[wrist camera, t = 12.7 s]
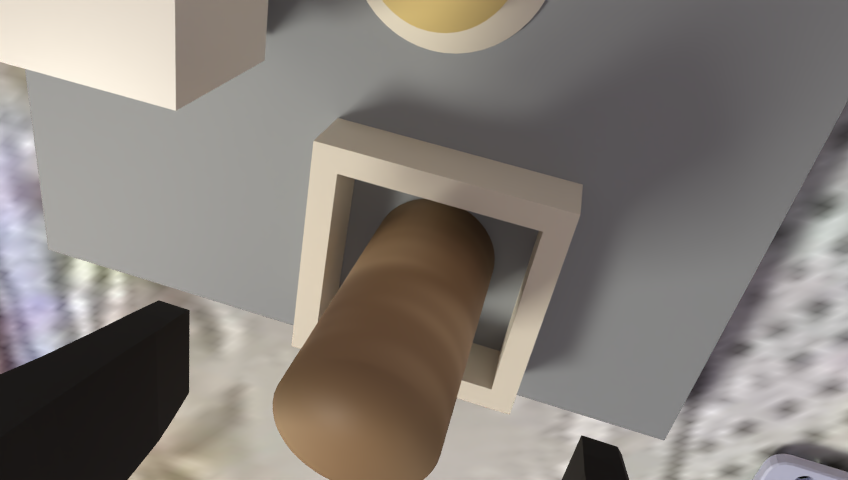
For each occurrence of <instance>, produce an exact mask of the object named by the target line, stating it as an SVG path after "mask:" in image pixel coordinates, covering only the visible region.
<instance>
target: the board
mask: <svg viewBox="0 0 848 480" xmlns="http://www.w3.org/2000/svg"><path fill="white" fill-rule="evenodd" d="M25 72H26V80H27V88H28V95H29V103H30V111H31V119H32V126H33V134H34V142H35V150H36V157H37V165H38V173H39V181H40V188H41V196H42V204H43V212H44V219H45V227H46V235H47V243H48V249H49V250H52V251H55V252H58V253H62V254H65V255H68V256H71V257H75V258H78V259H81V260H84V261H87V262H91V263H94V264H97V265H100V266H104V267H107V268H110V269H113V270H116V271H120V272H123V273H126V274H129V275H133V276H136V277H139V278H142V279H145V280H149V281H152V282H155V283H158V284H162V285H165V286H168V287H171V288H174V289H178V290H181V291H184V292H187V293H191V294H194V295H197V296H200V297H204V298H207V299H210V300H213V301H216V302H220V303H223V304H226V305H229V306H233V307H236V308H239V309H242V310H245V311H249V312H252V313H255V314H258V315H262V316H265V317H268V318H271V319H274V320H278V321H281V322H284V323H287V324H291V325H294V327H293V336H292V347H296V348H299V349H301V348H302V346H303V345H304V343H305V342H306V340H307V339H308V337H309V335H310V334H311V332H312V331H313V329H314V328H315V326H316V324H317V323H318V321H319V320H320V318H321V317H322V315H323V314H324V312H325V310H326V309H327V307H328V306H329V304H330V303H331V301H332V299H333V298H334V296H335V295H336V293H337V292H338V290H339V288H340V287H341V285H342V284H343V282H344V281H345V279H346V277H347V276H348V274H349V273H350V271H351V270H352V268H353V267H354V265H355V263H356V262H357V260H358V259H359V257H360V256H361V254H362V252H363V251H364V249H365V248H366V246H367V245H368V243H369V241H370V240H371V238H372V237H373V235H374V234H375V232H376V230H377V229H378V227H379V226H380V224H381V223H382V221H383V219H384V218H385V217H386V216H387V215H388V214H389V213H390V212H391V211H392V210H393V209H395V208H396V207H398V206H399V205H401V204H404V203H406V202H409V201H412V200H417V199H428V200H432V201H435V202H439V203H442V204H446V205H449V206H453V207H457V208H460V209H464V210H466V211H468V212H469V213H470V214H472V215H473V216H474V217H475V218H476V219H477V220H478V221H479V222H480V223H481V224H482V225H483V227H484V228H485V229H486V231H487V233H488V235H489V236H490V239H491V241H492V244H493V248H494V255H495V263H494V269H493V273H492V277H491V280H490V284H489V287H488V291H487V294H486V298H485V301H484V305H483V308H482V311H481V315H480V318H479V322H478V325H477V329H476V332H475V336H474V339H473V343H472V346H471V350H470V353H469V357H468V360H467V364H466V367H465V371H464V374H463V378H462V381H461V385H460V388H459V392H458V395H457V398H458V399H461V400H464V401H468V402H471V403H474V404H477V405H480V406H484V407H487V408H490V409H493V410H496V411H500V412H503V413H506V414H509V415H510V412H511V409H512V406H513V403H514V400H515V398H516V395H519V396H523V397H526V398H529V399H532V400H535V401H539V402H542V403H545V404H548V405H552V406H555V407H558V408H561V409H565V410H568V411H571V412H574V413H577V414H581V415H584V416H587V417H590V418H594V419H597V420H600V421H603V422H606V423H610V424H613V425H616V426H619V427H623V428H626V429H629V430H632V431H635V432H639V433H642V434H645V435H648V436H652V437H655V438H658V439H661V440H665V438H666V436H667V434H668V433H669V431H670V429H671V427H672V425H673V423H674V421H675V420H676V418H677V416H678V414H679V412H680V410H681V409H682V407H683V405H684V403H685V401H686V399H687V397H688V396H689V394H690V392H691V390H692V388H693V386H694V384H695V383H696V381H697V379H698V377H699V375H700V373H701V372H702V370H703V368H704V366H705V364H706V362H707V360H708V359H709V357H710V355H711V353H712V351H713V349H714V348H715V346H716V344H717V342H718V340H719V338H720V336H721V335H722V333H723V331H724V329H725V327H726V325H727V323H728V322H729V320H730V318H731V316H732V314H733V312H734V311H735V309H736V307H737V305H738V303H739V301H740V299H741V298H742V296H743V294H744V292H745V290H746V288H747V287H748V285H749V283H750V281H751V279H752V277H753V275H754V274H755V272H756V270H757V268H758V266H759V264H760V262H761V261H762V259H763V257H764V255H765V253H766V251H767V250H768V248H769V246H770V244H771V242H772V240H773V238H774V237H775V235H776V233H777V231H778V229H779V227H780V225H781V224H782V222H783V220H784V218H785V216H786V214H787V213H788V211H789V209H790V207H791V205H792V203H793V201H794V200H795V198H796V196H797V194H798V192H799V190H800V189H801V187H802V185H803V183H804V181H805V179H806V177H807V176H808V174H809V172H810V170H811V168H812V166H813V164H814V163H815V161H816V159H817V157H818V155H819V153H820V152H821V150H822V148H823V146H824V144H825V142H826V140H827V139H828V137H829V135H830V133H831V131H832V129H833V128H834V126H835V124H836V122H837V120H838V118H839V116H840V115H841V113H842V111H843V109H844V107H845V105H846V103H847V102H848V0H268V15H267V31H266V47H265V61H263V62H261V63H259V64H258V65H256V66H254V67H252V68H251V69H249V70H247V71H245V72H243V73H242V74H240V75H238V76H236V77H235V78H233V79H231V80H229V81H228V82H226V83H224V84H222V85H221V86H219V87H217V88H215V89H213V90H212V91H210V92H208V93H206V94H205V95H203V96H201V97H199V98H198V99H196V100H194V101H192V102H191V103H189V104H187V105H185V106H184V107H182V108H180V109H178V110H176V111H175V110H171V109H168V108H164V107H160V106H157V105H153V104H150V103H146V102H143V101H139V100H135V99H132V98H128V97H125V96H121V95H117V94H114V93H110V92H107V91H103V90H99V89H96V88H92V87H89V86H85V85H82V84H78V83H74V82H71V81H67V80H64V79H60V78H56V77H53V76H49V75H46V74H42V73H39V72H35V71H31V70H28V69H25Z"/></svg>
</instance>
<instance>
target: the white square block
mask: <svg viewBox="0 0 848 480" xmlns="http://www.w3.org/2000/svg"><path fill="white" fill-rule="evenodd" d="M267 15H268V0H0V62H3V63H6V64H10V65H13V66H17V67H21V68H24V69H28V70H31V71H35V72H39V73H42V74H46V75H49V76H53V77H56V78H60V79H64V80H67V81H71V82H74V83H78V84H82V85H85V86H89V87H92V88H96V89H99V90H103V91H107V92H110V93H114V94H117V95H121V96H125V97H128V98H132V99H135V100H139V101H143V102H146V103H150V104H153V105H157V106H160V107H164V108H168V109H171V110H175V111H176V110H178V109H180V108H182V107H184V106H185V105H187V104H189V103H191V102H192V101H194V100H196V99H198V98H199V97H201V96H203V95H205V94H206V93H208V92H210V91H212V90H213V89H215V88H217V87H219V86H221V85H222V84H224V83H226V82H228V81H229V80H231V79H233V78H235V77H236V76H238V75H240V74H242V73H243V72H245V71H247V70H249V69H251V68H252V67H254V66H256V65H258V64H259V63H261V62H263V61H265V47H266V31H267Z"/></svg>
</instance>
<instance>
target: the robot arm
mask: <svg viewBox="0 0 848 480" xmlns="http://www.w3.org/2000/svg"><path fill="white" fill-rule="evenodd" d="M188 393H189V310H187V309H184V308H181V307H178V306H174V305H171V304H168V303H165V302H162V301H157V302H155V303H152V304H150V305H148V306H146V307H144V308H142V309H140V310H137V311H135V312H133V313H131V314H129V315H127V316H125V317H123V318H121V319H119V320H117V321H115V322H113V323H111V324H109V325H107V326H105V327H103V328H101V329H99V330H97V331H95V332H93V333H91V334H88V335H86V336H84V337H82V338H80V339H78V340H76V341H74V342H72V343H70V344H67V345H65V346H63V347H61V348H59V349H57V350H55V351H53V352H51V353H48V354H46V355H44V356H42V357H40V358H37V359H35V360H33V361H30V362H28V363H26V364H23V365H21V366H19V367H16V368H14V369H12V370H9V371H7V372H5V373H2V374H0V480H128V478H129V477H130V476H131V475H132V473H133V472H134V471H135V470H136V468H137V467H138V466H139V465H140V464H141V462H142V461H143V460H144V459H145V457H146V456H147V455H148V454H149V452H150V451H151V450H152V449H153V447H154V446H155V445H156V444H157V442H158V441H159V440H160V438H161V437H162V435H163V433H164V432H165V430H166V429H167V427H168V426H169V424H170V423H171V421H172V420H173V418H174V416H175V415H176V413H177V411H178V410H179V408H180V407H181V405H182V403H183V402H184V400H185V398H186V397H187V395H188ZM801 476H809V477H808V478H803V479H800V478H798V477H801ZM562 480H629V477H628V474H627V471H626V468H625V464H624V461H623V458H622V454H621V452H620V451H619V449H618V447H616V446H613V445H610V444H607V443H604V442H601V441H597V440H594V439H591V438H588V437H585V436H582V435H581V438H580V440H579V442H578V444H577V447H576V449H575V451H574V454H573V456H572V458H571V460H570V463H569V465H568V467H567V469H566V472H565V474H564V476H563V478H562ZM752 480H848V472H846V471H842V470H839V469H836V468H833V467H829V466H826V465H823V464H820V463H816V462H813V461H810V460H807V459H803V458H800V457H797V456H794V455H789V454H776V455H773V456H771V457H769V458H768V459H767V460H765V461H764V463H763V464H762V466H761V467H760V469H759V470H758V472H757V473H756V475H755V476H754V478H753V479H752Z"/></svg>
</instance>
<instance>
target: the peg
mask: <svg viewBox="0 0 848 480" xmlns="http://www.w3.org/2000/svg"><path fill="white" fill-rule="evenodd" d="M494 263H495V255H494V248H493V244H492V241H491V239H490V236H489V235H488V233H487V231H486V229H485V228H484V227H483V225H482V224H481V223H480V222H479V221H478V220H477V219H476V218H475V217H474V216H473V215H472V214H470V213H469V212H468V211H466V210H464V209H460V208H457V207H453V206H449V205H446V204H442V203H439V202H435V201H432V200H428V199H417V200H412V201H409V202H406V203H404V204H401V205H399V206H398V207H396V208H395V209H393V210H392V211H391V212H390V213H389V214H388V215H387V216H386V217H385V218H384V219H383V221H382V223H381V224H380V226H379V227H378V229H377V230H376V232H375V234H374V235H373V237H372V238H371V240H370V241H369V243H368V245H367V246H366V248H365V249H364V251H363V252H362V254H361V256H360V257H359V259H358V260H357V262H356V263H355V265H354V267H353V268H352V270H351V271H350V273H349V274H348V276H347V277H346V279H345V281H344V282H343V284H342V285H341V287H340V288H339V290H338V292H337V293H336V295H335V296H334V298H333V299H332V301H331V303H330V304H329V306H328V307H327V309H326V310H325V312H324V314H323V315H322V317H321V318H320V320H319V321H318V323H317V324H316V326H315V328H314V329H313V331H312V332H311V334H310V335H309V337H308V339H307V340H306V342H305V343H304V345H303V346H302V348H301V350H300V351H299V353H298V354H297V356H296V357H295V359H294V361H293V362H292V364H291V365H290V367H289V368H288V370H287V371H286V373H285V375H284V376H283V378H282V379H281V381H280V383H279V384H278V386H277V388H276V391H275V393H274V398H273V414H274V420H275V423H276V426H277V428H278V431H279V433H280V435H281V437H282V438H283V440H284V441H285V443H286V444H287V446H288V447H289V448H290V450H291V451H292V452H293V453H294V454H295V455H296V456H297V457H298V458H299V459H300V460H301V461H302V462H303V463H305V464H306V465H307V466H308V467H310V468H311V469H312V470H314V471H315V472H317V473H319V474H320V475H322V476H324V477H325V478H328V479H330V480H423V479H424V478H426V477H427V476H428V475H429V474H430V473H431V472H432V471H433V469H434V468H435V466H436V464H437V462H438V460H439V457H440V454H441V451H442V447H443V444H444V440H445V437H446V433H447V430H448V426H449V423H450V420H451V416H452V413H453V409H454V406H455V402H456V399H457V395H458V392H459V388H460V385H461V381H462V378H463V374H464V371H465V367H466V364H467V360H468V357H469V353H470V350H471V346H472V343H473V339H474V336H475V332H476V329H477V325H478V322H479V318H480V315H481V311H482V308H483V305H484V301H485V298H486V294H487V291H488V287H489V284H490V280H491V277H492V273H493V269H494Z"/></svg>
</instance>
